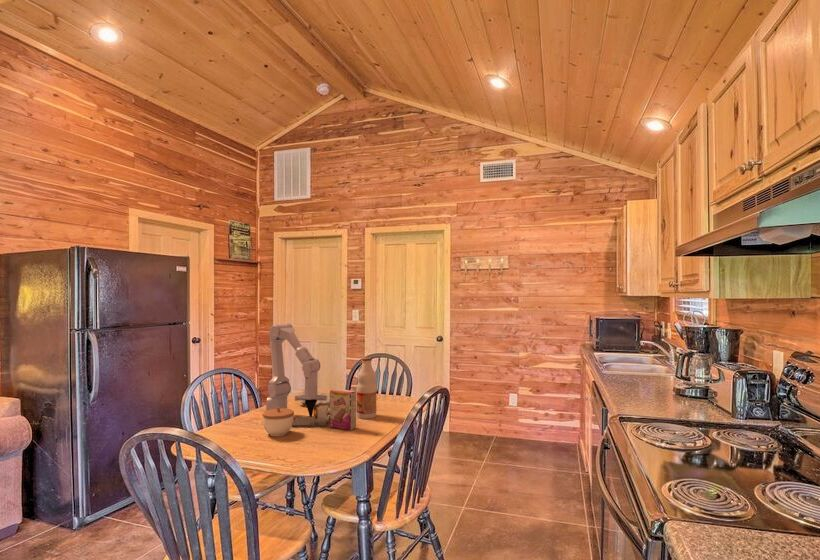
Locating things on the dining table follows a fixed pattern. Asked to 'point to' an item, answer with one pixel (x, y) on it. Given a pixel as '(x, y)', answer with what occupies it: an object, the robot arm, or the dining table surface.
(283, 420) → the lidded bowl
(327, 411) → the shaft
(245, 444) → the dining table surface
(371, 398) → the fruit juice
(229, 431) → the dining table surface
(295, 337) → the robot arm
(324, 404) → the food container
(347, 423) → the candy bar box
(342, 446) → the dining table surface
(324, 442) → the dining table surface
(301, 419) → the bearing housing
